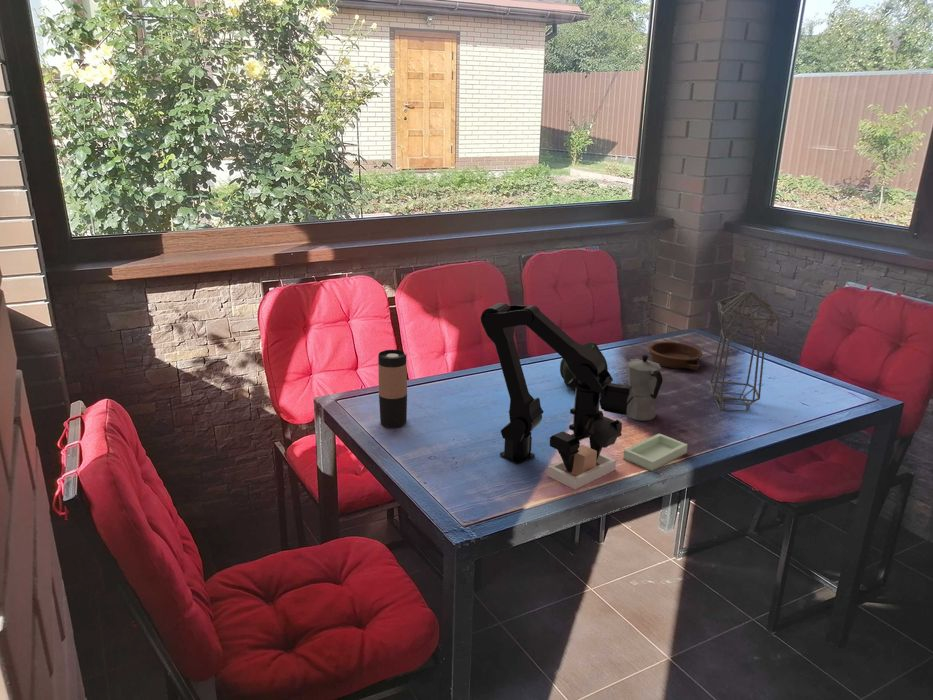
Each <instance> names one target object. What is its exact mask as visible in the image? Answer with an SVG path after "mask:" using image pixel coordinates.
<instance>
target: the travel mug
mask: <svg viewBox="0 0 933 700" xmlns="http://www.w3.org/2000/svg"><path fill="white" fill-rule="evenodd" d="M377 357H378V359H377V362H378V368H377V369H378V403H379V417H380V420H379V421H380V425H381V426H383V427H385V428H389V429H398V428H401V427H403V426H405V425H406V424H407V418H408V417H407V416H408V415H407V414H408V413H407V412H408V380H407V379H408V377H407V376H408V375H407V373H408V371H407V370H408V369H407V354H405V352H404V351H403V350H399V349H385V350H383V351H380V352H379V353H378V355H377Z"/></svg>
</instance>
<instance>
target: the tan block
mask: <svg viewBox="0 0 933 700" xmlns="http://www.w3.org/2000/svg"><path fill="white" fill-rule="evenodd" d="M578 450H579V452H578V453H577V454H575V457H574V464H573V470H572V472H571V473H570V472H568V474H570V475H572V476H574V477H576V476H578V475H580V474H582V473H584V472H587V471H589V470H591V469H593V468H595V467H597V463H596V458H597V451H596V450H594V449H591V448H590V446H589V447H588V446H587V445H585V444H580V447H579V448H578Z"/></svg>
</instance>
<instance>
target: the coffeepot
mask: <svg viewBox="0 0 933 700" xmlns="http://www.w3.org/2000/svg"><path fill="white" fill-rule="evenodd" d="M641 357H642V359H640V358H639V359H638V358H633V359H632V358H630V361H628V362H627V376H628V377H627V378H628V385H629V386H632V392H633V397H634V403H633V407H632V411H631V413H630V415H629V416H626V415H624V416H625V417H626V418H629V419H631V420H634V421H652V420H654V418H656V416H657V415H656V403H655V402H656V401H655V400H656V399H657V397H658V395H659V392H660V389H661V388H662V384H663V380H664V378H663V375H662V373H661V370H662V366H661V365H659V364H658V363H655V362H654V361H653V360H648V358H649V356H648V354H642V355H641Z"/></svg>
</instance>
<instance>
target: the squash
mask: <svg viewBox="0 0 933 700" xmlns="http://www.w3.org/2000/svg"><path fill="white" fill-rule="evenodd" d="M582 345H583V346H586V347H588V348H590V349H592V350H593V351H595V352H597V353H598V354H600V355H601V356H602V357H603V358H604V360H605V367H606V369H607V370H608V371H609V367H608V362H607V359H606V357H605V356H604V354H603V352H602V351H601V350H600V348H599V345H597V343H596V342H594V341H590V342H585V343H582ZM559 373H560V376H561V378H562V379H563V382H564V384H565V386H566V387H567V384H568V383H569V382H570V381H571V380H572V379H573V378H574V377H575V376H574V375H573V373H572V372H571V371H570V370H569V369H568V366H567V364H566V362H565V360H564V359H563V358H562V359H561V361H560V364H559ZM597 379H598V381H599V380H600V379H601V378H600V377H599V376H598V377H597ZM568 389H572V388H571V387H568Z"/></svg>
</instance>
